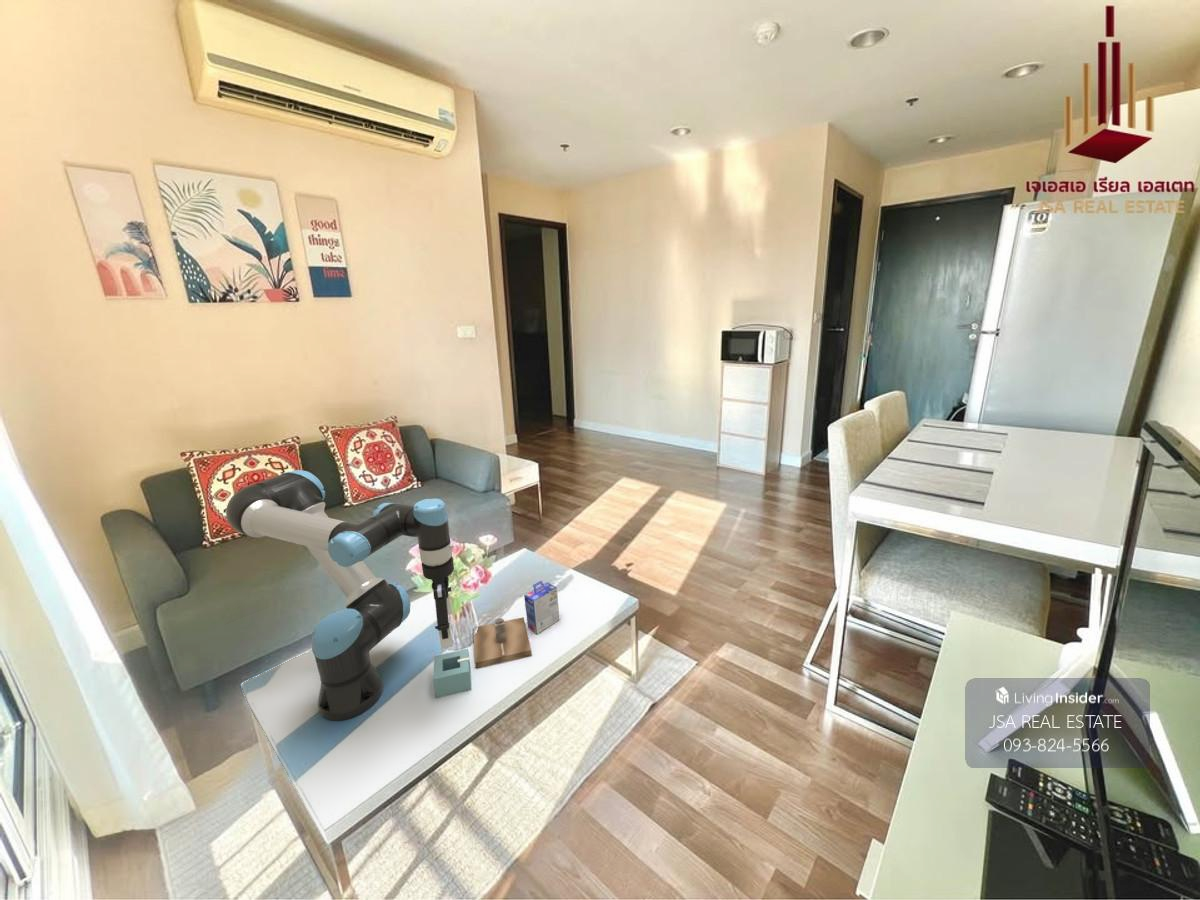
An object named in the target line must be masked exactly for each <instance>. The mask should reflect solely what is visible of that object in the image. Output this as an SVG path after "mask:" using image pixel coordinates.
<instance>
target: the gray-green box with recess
mask: <svg viewBox="0 0 1200 900" xmlns="http://www.w3.org/2000/svg"><path fill="white" fill-rule="evenodd" d="M471 673H472V672H471V661H470V654H469V648H464V649H461V650H455V651H451V652H446V653H442V654H441V653H440V654H437V655H434V662H433V676H432V677H433V678H432V680H433V687H434V691H435V692H434V693H435V698H436V699H437V698H441V697H445V696H451V695H453V694H457V693H462V692H466V691H470V690H471V691H472V675H471Z"/></svg>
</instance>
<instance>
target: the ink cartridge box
mask: <svg viewBox="0 0 1200 900" xmlns="http://www.w3.org/2000/svg"><path fill="white" fill-rule="evenodd" d="M532 586H533V589H532V590H531V591H529V592H528V593H526V594H524V596H523V598H524V604H525V605H524V606H525V614H526V622H527V623H526V624H527V629H529V630H530V631H532V632H533V633H535V634H536V635H537V634H539V633H541V632H543V631H544V630H545V629H548V628H549V627H550V626H552V625H554V624H555V623H556V622H559V621H560V611H559V609H560V608H559V607H560V606H559V598H558V597H559V596H558V587H557V586H555V585H553V584H551V583H550V582H547V581H546V582H545V583H544V582H543V580H540V581H538V582H536V583H534V584H532Z"/></svg>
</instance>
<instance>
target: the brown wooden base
mask: <svg viewBox="0 0 1200 900" xmlns="http://www.w3.org/2000/svg"><path fill="white" fill-rule="evenodd" d="M477 627H478V630H477V633H476V634H475V635H474V636H473V651H474V663H475V669H480V668H483V667H488V666H493V665H496V664H501V663H506V662H509V661H514V660H519V659H522V658H523V659H524V658H527V657H531V656H532V655H533V654H532V648H531V644H530V640H529V635H528V634H529V633H528V631H527V626H526V622H525V618H524V617H523V616H522V617H518V618H513V619H509V620H504V618H497V619H494V623H490V624H484V625H480V626H477Z"/></svg>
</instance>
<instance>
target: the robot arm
mask: <svg viewBox="0 0 1200 900" xmlns="http://www.w3.org/2000/svg"><path fill="white" fill-rule="evenodd" d="M324 489H325V488H324V485H323V484H322V482H321V481H320V479H319V478H318V477H317V476H315V474H313V473H312V472H310V471H307V470H302V469H294V470H292V471H285V472H283V473H280V475H276V476H273V477H270V478H268V479H264V480H262V481H260V482H255V483H254V484H250V485H247V486H245V487H242V488H240V489H239V490H238V491H237V492H235V493H234V494H233V495H232V496H231V497H230V499H229V500H228V502H227V505H226V509H225V517H226V520H227V522H228V524H229V525H230V527H231V528H232V529H233V530H234V531H235V532H237V533H239V534H241V535H244V536H247V537H250V538H251V537H252V538H255V539H256V538H257V539H258V538H263V537H269V538H273V539H276V540H277V539H278V540H281V541H286V542H287V543H288V542H289V543H293V544H297V545H302V546H304V547H306V548H307V549H308V550H309V553H311V554H312V555H313V557H314V558H315V559H316V561H317V562H318V564H320V566H321V567H322V569H324V572H326V573H327V575H328V576H329V577H330V579H331V580H332V581H333V583H335V585H336V587H338V589H339V590H340V591H341V592H342V593H343V595H344V597H346V602H345V605H344V606H345V608H343V609H340V610H338V611H337V612H336V611H333V612H331V613H329V614H327V616H325V617H324V618H323V619H321V620H320V621H319V622H318V623H317V624H316V625H315V627H314V629H313V630H312V633H311V650H312V653H313V655H314V658H315V663H316V666H317V669H318V674H319V678H320V689H319V693H318V694H319V695H318V701H317V705H318V710H319V714H320V715H321V716H322V717H323V718H325V719H327V720H330V721H343V720H344V721H345V720H348V719H351V718H354V717H356V716H358V715H360V714H361V715H362V713H365V712H366V711H367V710H369V709H370V708H371V707H372V706H374V705H375V704H376V703H377V701H379V698H380V697H381V696H382V693H383V690H384V683H383V679H382V676H381V674H380V673H379V671H378V670H377V669H376V667H375V666H374V665H373V664H372V662H371V656H370V651H372V649H373V648H375V647H376V646H377V645H378V644H380V642H382V641H383V640H384V639H386V637H388V636H389V635H390V634H391V633H392V632H393V631H394V630H396V629H397V628H399V627H400V626H401V625H402V623H404V622H405V621H406V619H407V618H408V617H409V615H410V612H411V600H410V596H409V595H408V592H407V590H406V589H405V588H404V587H403V586H402V585H400V584H398V583H397V582H387V581H386V579H385V578H384V577H383V578H382V577H376V576H375V575H374V574H373V572H372V571H371V570H370V569H369V568H368V566H367V564H366V563H365V562H364V561H365V559H367V558H368V557H370V556H371V555H372V554H374V553H376V552H377V551H379V550H380V549H382V548H384V547H385V546H387V545H389V544H390V543H391V542H393V541H395V540H397V539H398V538H400V537H402V536H406V537H412V538H417V543H418V550H419V551H418V552H419V557H420V558H419V559H420V562H421V567H422V568H421V571H422V575H423V577H424V578H425V579H427V580H430V581H431V588H432V591H433V599H434V603H435V604H434V605H435V611H436V612H435V613H436V624H437V625H435V626H434V627H435V628H434V629H435V630H437V631H438V635H439V643H440V649H442V650H443V649H447V648H451V647H453V645H454V644H453V638H452V631H451V625H450V622H449V616H451V615H453V611H452V603H451V596H450V595H451V594H450V592H452V587H451V586H450V587H449V585H450V584H449V576H451V575H452V573H454V571H455V565H454V564H455V563H454V558H453V551H452V549H453V548H454V547H455V546H454V544H451V537H450V527H449V514H448V512H447V506H446V503H445V502H444V501H443V500H442V499H440V498H425V499H422V500H420V501H419V500H418V501H417V502H416V503H415V504H414V505H411V504H410V505H409V504H404V503H398V502H384V503H381V504H379V505H378V506H377V508H376V509H375V510H374V511H373V513H372V516H371V517H369V518H368V519H365V520H363V521H362V522H359V523H354V522H349V521H345V520H340V519H336V518H331V517H329V516H328V515H327V513H326V512H325V507H326V502H325V497H326V491H325V490H324Z"/></svg>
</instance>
